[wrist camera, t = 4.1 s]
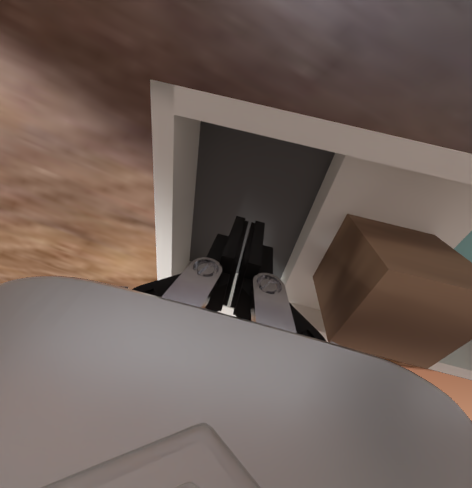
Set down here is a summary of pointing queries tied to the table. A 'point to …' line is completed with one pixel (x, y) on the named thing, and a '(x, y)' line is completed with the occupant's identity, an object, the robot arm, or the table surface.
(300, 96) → the table surface
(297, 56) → the table surface
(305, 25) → the table surface
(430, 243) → the walnut block
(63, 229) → the table surface
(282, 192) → the tray
